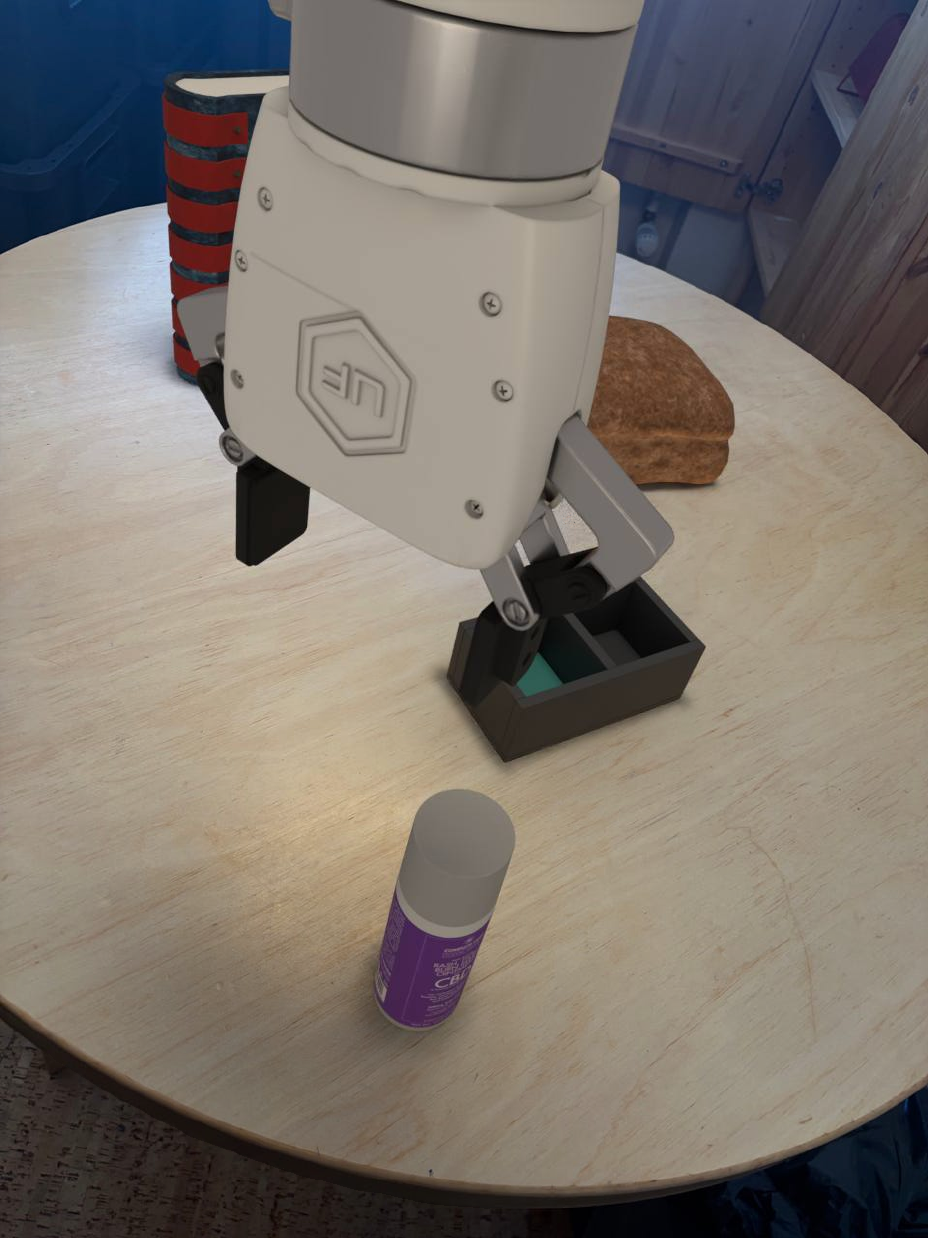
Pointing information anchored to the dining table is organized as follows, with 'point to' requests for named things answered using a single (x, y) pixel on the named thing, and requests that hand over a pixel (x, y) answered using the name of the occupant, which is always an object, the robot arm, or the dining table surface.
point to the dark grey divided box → (587, 671)
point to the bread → (659, 406)
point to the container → (441, 906)
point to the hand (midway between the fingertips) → (376, 610)
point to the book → (206, 178)
